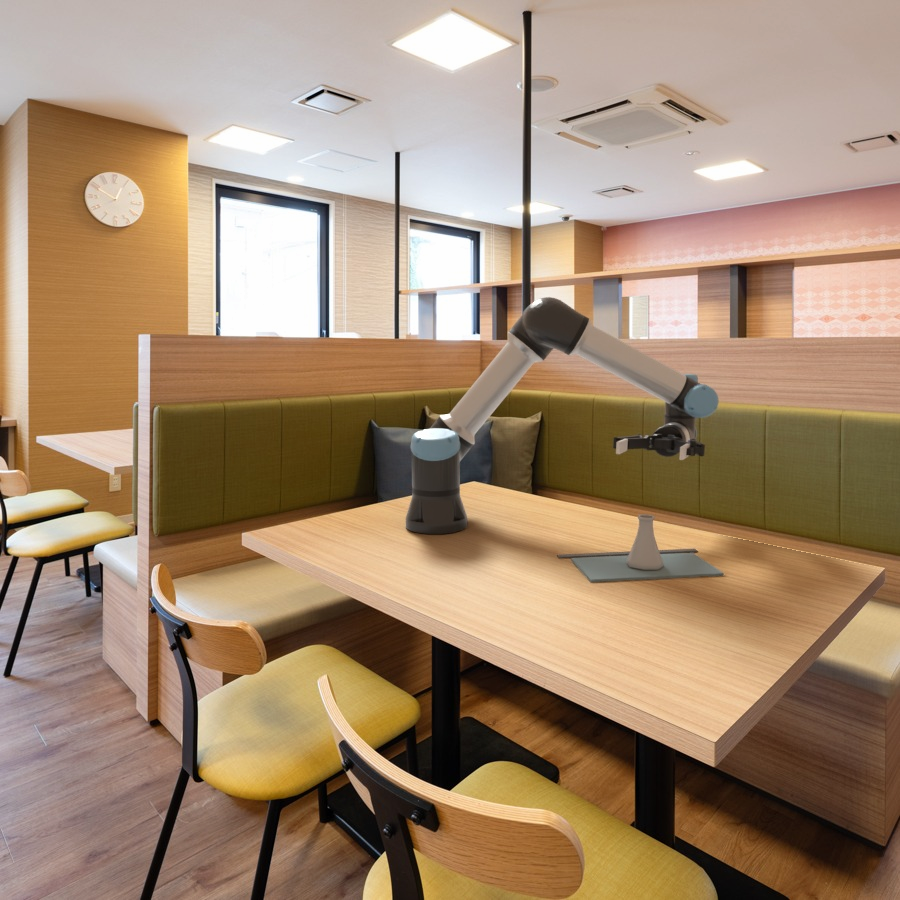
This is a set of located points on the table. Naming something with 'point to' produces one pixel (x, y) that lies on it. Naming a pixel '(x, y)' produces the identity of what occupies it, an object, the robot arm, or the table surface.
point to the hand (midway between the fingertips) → (648, 450)
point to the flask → (645, 546)
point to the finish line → (621, 553)
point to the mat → (620, 571)
